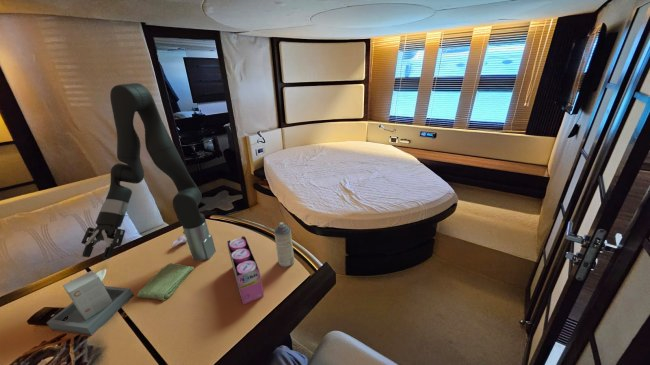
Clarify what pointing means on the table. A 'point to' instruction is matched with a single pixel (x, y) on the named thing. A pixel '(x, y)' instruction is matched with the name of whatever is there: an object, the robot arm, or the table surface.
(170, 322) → the table surface
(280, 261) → the aerosol can
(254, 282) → the gum box
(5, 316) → the table surface
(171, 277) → the washcloth
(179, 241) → the pale purple eggplant
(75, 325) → the bin
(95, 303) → the small box
